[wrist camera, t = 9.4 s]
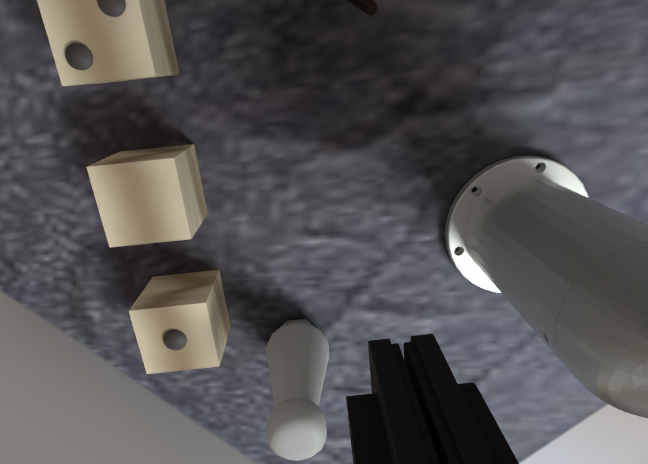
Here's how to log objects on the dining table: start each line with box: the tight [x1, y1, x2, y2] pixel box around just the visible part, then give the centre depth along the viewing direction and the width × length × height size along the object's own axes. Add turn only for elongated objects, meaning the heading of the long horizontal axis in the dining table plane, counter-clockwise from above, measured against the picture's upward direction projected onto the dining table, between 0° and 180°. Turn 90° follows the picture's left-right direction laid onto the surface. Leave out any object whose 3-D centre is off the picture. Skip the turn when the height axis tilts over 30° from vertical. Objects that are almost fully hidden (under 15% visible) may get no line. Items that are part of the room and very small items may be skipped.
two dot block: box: [37, 0, 180, 86], centre depth 30 cm, size 6×6×6 cm
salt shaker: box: [266, 319, 329, 461], centre depth 36 cm, size 6×6×13 cm
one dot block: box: [129, 270, 231, 374], centre depth 38 cm, size 6×6×6 cm
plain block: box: [87, 144, 208, 247], centre depth 34 cm, size 6×6×6 cm
